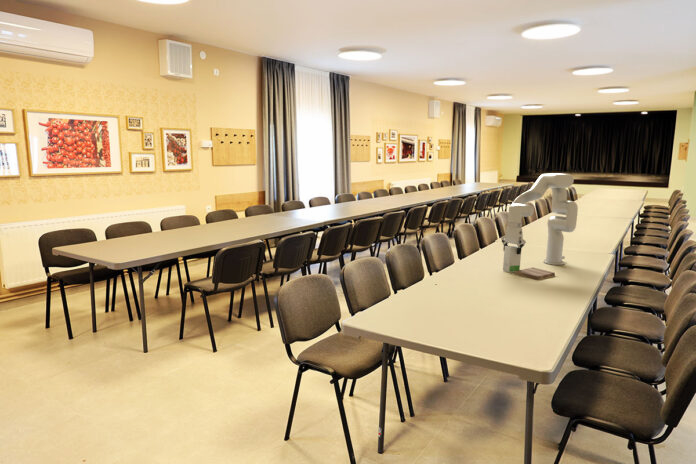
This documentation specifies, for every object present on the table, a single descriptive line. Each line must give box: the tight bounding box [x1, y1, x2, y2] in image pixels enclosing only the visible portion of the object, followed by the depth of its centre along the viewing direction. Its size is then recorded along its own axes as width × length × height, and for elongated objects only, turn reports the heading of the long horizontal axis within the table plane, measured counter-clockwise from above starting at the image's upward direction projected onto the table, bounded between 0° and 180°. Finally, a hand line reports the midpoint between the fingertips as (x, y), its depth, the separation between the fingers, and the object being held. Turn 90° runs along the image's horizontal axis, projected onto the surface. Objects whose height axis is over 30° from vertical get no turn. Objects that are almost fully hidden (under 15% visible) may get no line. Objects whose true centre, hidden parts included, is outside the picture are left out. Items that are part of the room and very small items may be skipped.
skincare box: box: [502, 245, 522, 273], centre depth 281 cm, size 8×7×16 cm
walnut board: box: [514, 267, 556, 281], centre depth 274 cm, size 17×15×2 cm
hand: (512, 252), depth 280 cm, fingers open, 9 cm apart
